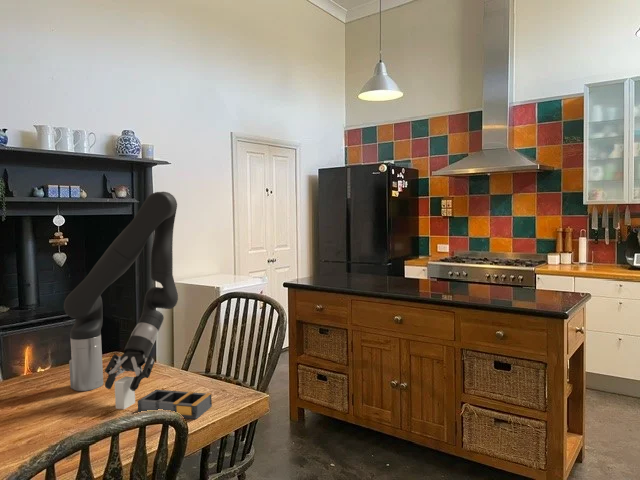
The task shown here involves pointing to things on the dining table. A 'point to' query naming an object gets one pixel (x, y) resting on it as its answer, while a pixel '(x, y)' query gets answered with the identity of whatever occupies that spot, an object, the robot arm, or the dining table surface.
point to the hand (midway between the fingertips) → (119, 389)
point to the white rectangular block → (124, 393)
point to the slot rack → (177, 402)
